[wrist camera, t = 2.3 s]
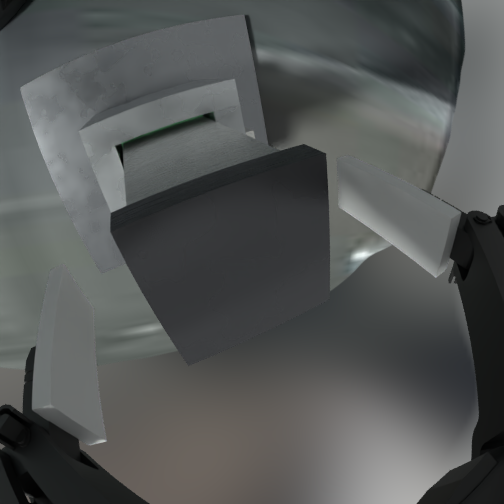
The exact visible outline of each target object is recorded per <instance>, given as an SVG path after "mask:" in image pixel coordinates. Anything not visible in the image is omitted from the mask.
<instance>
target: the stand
mask: <svg viewBox="0 0 504 504" xmlns="http://www.w3.org/2000/svg"><path fill="white" fill-rule="evenodd" d="M20 90H21V93H22V97H23V100H24V103H25V107H26V110H27V113H28V116H29V119H30V122H31V125H32V128H33V131H34V134H35V137H36V139H37V142H38V145H39V147H40V150H41V153H42V155H43V158H44V160H45V163H46V165H47V168H48V170H49V172H50V175H51V177H52V179H53V182H54V184H55V186H56V188H57V190H58V193H59V195H60V197H61V199H62V201H63V203H64V205H65V208H66V210H67V212H68V214H69V216H70V218H71V220H72V222H73V224H74V226H75V227H76V229H77V231H78V233H79V235H80V237H81V239H82V241H83V242H84V244H85V246H86V248H87V250H88V252H89V253H90V255H91V257H92V259H93V260H94V262H95V264H96V265H97V267H98V269H99V271H100V272H101V274H102V273H104V272H107V271H109V270H111V269H113V268H116V267H118V266H120V265H123V264H125V263H126V262H125V260H124V258H123V256H122V254H121V252H120V250H119V248H118V246H117V244H116V243H115V241H114V239H113V236H112V234H111V232H110V216H111V212H114V211H116V210H118V209H121V208H123V207H125V206H126V194H125V180H124V162H123V147H122V144H121V143H123V142H125V141H128V140H130V139H133V138H135V137H138V136H140V135H143V134H146V133H148V132H151V131H154V130H157V129H159V128H162V127H165V126H168V125H171V124H174V123H177V122H180V121H183V120H186V119H190V118H193V117H196V116H199V115H203V117H205V118H208V119H210V120H213V121H215V122H218V123H220V124H222V125H225V126H227V127H229V128H232V129H234V130H236V131H239V132H241V133H243V134H245V135H248V136H250V137H252V138H254V139H256V140H259V141H261V142H263V143H265V144H267V145H268V140H267V134H266V128H265V122H264V117H263V111H262V105H261V99H260V94H259V88H258V83H257V77H256V72H255V67H254V61H253V56H252V51H251V46H250V41H249V36H248V31H247V26H246V21H245V16H244V15H235V16H227V17H220V18H213V19H207V20H202V21H196V22H191V23H186V24H181V25H177V26H173V27H168V28H164V29H160V30H157V31H153V32H149V33H146V34H142V35H139V36H136V37H132V38H129V39H126V40H123V41H120V42H117V43H115V44H112V45H109V46H106V47H104V48H101V49H98V50H96V51H93V52H91V53H88V54H86V55H84V56H81V57H79V58H77V59H75V60H72V61H70V62H68V63H66V64H64V65H62V66H60V67H58V68H55V69H53V70H52V71H50V72H48V73H46V74H44V75H42V76H40V77H38V78H36V79H35V80H33V81H31V82H29V83H28V84H26V85H24V86H22V87H21V88H20Z"/></svg>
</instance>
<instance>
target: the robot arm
mask: <svg viewBox="0 0 504 504" xmlns="http://www.w3.org/2000/svg"><path fill="white" fill-rule="evenodd" d="M25 1H26V0H0V29H1V28H2V27H3V26H4V25H5V24H6V23H7V22H8V21H9V20H10V19H11V18H12V17H13V16H14V15H15V14H16V13H17V11H18V10H19V9H20V8H21V6H22V5H23V4H24V2H25ZM337 174H338V203H339V208H341V209H342V210H344V211H345V212H347V213H348V214H350V215H351V216H353V217H354V218H356V219H357V220H359V221H360V222H362V223H363V224H364V225H366V226H367V227H369V228H370V229H372V230H373V231H374V232H376V233H377V234H379V235H380V236H381V237H383V238H384V239H386V240H387V241H388V242H390V243H391V244H392V245H394V246H395V247H397V248H398V249H399V250H401V251H402V252H403V253H405V254H406V255H407V256H409V257H410V258H411V259H413V260H414V261H415V262H416V263H418V264H419V265H420V266H422V267H423V268H424V269H425V270H427V271H428V272H429V273H430V274H432V275H433V276H434V277H435V278H436V277H437V276H439V275H440V274H441V273H443V272H444V271H445V270H446V268H447V265H448V262H449V258H451V259H452V260H454V264H453V268H452V271H451V274H450V277H449V283H451V281H452V279H453V277H454V276H455V277H456V278H455V281H454V283H457V284H458V288H459V292H460V296H461V299H462V303H463V308H464V312H465V316H466V321H467V326H468V331H469V336H470V341H471V347H472V353H473V359H474V366H475V374H476V382H477V392H478V406H479V419H478V422H477V425H476V427H475V429H474V433H473V437H472V458H471V461H470V462H467V463H465V464H463V465H461V466H459V467H457V468H455V469H453V470H450V471H449V472H448V473H447V474H446V475H445V476H443V477H442V478H441V479H440V480H439V481H438V482H437V483H436V484H435V485H433V486H432V487H431V488H430V489H429V490H428V491H427V492H426V493H425V494H424V496H423V497H422V498H421V499H420V500H419V502H418V503H417V504H504V205H501V206H499V208H498V211H497V215H496V216H495V217H490V216H488V215H487V214H485V213H483V212H480V211H471V212H469V213H468V214H466V213H464V212H462V211H461V210H459V209H457V208H455V207H454V206H452V205H450V204H448V203H447V202H445V201H443V200H440V198H438V197H436V196H433V195H432V194H431V193H429V192H427V191H425V190H423V189H420V188H418V187H416V186H414V185H412V184H410V183H408V182H406V181H404V180H402V179H400V178H398V177H396V176H394V175H392V174H390V173H388V172H386V171H384V170H382V169H379V168H377V167H375V166H373V165H371V164H369V163H366V162H364V161H362V160H360V159H357V158H355V157H353V156H350V155H346V156H342V157H339V158H337ZM25 373H26V375H25V379H24V383H25V385H24V393H23V414H22V413H20V412H19V411H17V410H16V409H15V408H14V407H12V406H11V405H6V404H5V405H3V406H1V407H0V443H1V444H3V445H4V446H6V447H4V448H3V449H2V450H1V449H0V504H149V503H148V502H146V501H145V500H143V499H142V498H141V497H139V496H138V495H136V494H135V493H134V492H132V491H131V490H130V489H128V488H127V487H126V486H124V485H123V484H122V483H121V482H119V481H118V480H117V479H115V478H114V477H113V476H112V475H110V474H109V473H108V472H107V471H106V470H105V469H103V468H102V467H101V466H100V465H99V464H98V463H96V462H95V461H94V460H93V459H92V458H91V457H90V456H89V455H88V454H86V452H84V451H83V450H81V449H80V447H79V440H80V441H82V442H84V443H85V444H87V445H93V444H97V443H101V442H105V441H107V439H106V434H105V429H104V422H103V416H102V409H101V402H100V395H99V386H98V375H97V364H96V349H95V326H94V307H93V306H92V305H91V303H90V302H89V300H88V299H87V297H86V296H85V295H84V293H83V292H82V290H81V289H80V287H79V286H78V284H77V283H76V281H75V280H74V278H73V277H72V275H71V273H70V272H69V270H68V269H67V267H66V265H65V264H64V263H63V264H61V265H59V266H57V267H55V268H53V269H51V270H50V273H49V277H48V281H47V286H46V291H45V295H44V300H43V305H42V311H41V316H40V322H39V329H38V336H37V343H36V346H35V347H33V348H31V350H30V353H29V355H28V358H27V360H26V368H25ZM25 495H26V496H28V497H29V499H30V501H31V503H29V502H28V500H27V498H26V496H25Z"/></svg>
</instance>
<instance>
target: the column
mask: <svg viewBox="0 0 504 504" xmlns="http://www.w3.org/2000/svg"><path fill="white" fill-rule="evenodd" d="M121 144H122V147H123V162H124V180H125V194H126V206H125V207H123V208H121V209H118V210H116V211H114V212H111V216H110V232H111V234H112V236H113V239H114V241H115V243H116V244H117V246H118V248H119V250H120V252H121V254H122V256H123V258H124V260H125V262H126V264H127V266H128V267H129V269H130V271H131V273H132V275H133V277H134V278H135V280H136V282H137V284H138V286H139V287H140V289H141V291H142V293H143V294H144V296H145V298H146V300H147V301H148V303H149V305H150V306H151V308H152V310H153V311H154V313H155V315H156V316H157V318H158V320H159V321H160V323H161V324H162V326H163V328H164V329H165V331H166V332H167V334H168V336H169V337H170V339H171V340H172V342H173V343H174V345H175V346H176V348H177V349H178V351H179V352H180V354H181V355H182V357H183V358H184V360H185V361H186V363H187V364H188V365H191V364H194V363H196V362H199V361H201V360H204V359H206V358H208V357H210V356H213V355H215V354H218V353H220V352H222V351H224V350H227V349H229V348H231V347H233V346H236V345H238V344H240V343H242V342H244V341H246V340H249V339H251V338H253V337H255V336H257V335H260V334H262V333H264V332H266V331H268V330H270V329H272V328H274V327H276V326H278V325H280V324H282V323H284V322H286V321H288V320H290V319H292V318H294V317H296V316H298V315H300V314H302V313H304V312H306V311H308V310H310V309H312V308H314V307H316V306H318V305H320V304H322V303H324V302H325V301H327V300H329V291H330V234H329V200H328V179H327V162H326V153H323V152H321V151H319V150H317V149H314V148H312V147H310V146H307V145H305V144H303V145H299V146H295V147H292V148H288V149H285V150H281V151H280V150H278V149H276V148H273V147H271V146H269V145H267V144H265V143H263V142H261V141H259V140H256V139H254V138H252V137H250V136H248V135H245V134H243V133H241V132H239V131H236V130H234V129H232V128H229V127H227V126H225V125H222V124H220V123H218V122H215V121H213V120H210V119H208V118H205V117H203V115H199V116H196V117H193V118H190V119H186V120H183V121H180V122H177V123H174V124H171V125H168V126H165V127H162V128H159V129H157V130H154V131H151V132H148V133H146V134H143V135H140V136H138V137H135V138H133V139H130V140H128V141H125V142H123V143H121Z"/></svg>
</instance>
